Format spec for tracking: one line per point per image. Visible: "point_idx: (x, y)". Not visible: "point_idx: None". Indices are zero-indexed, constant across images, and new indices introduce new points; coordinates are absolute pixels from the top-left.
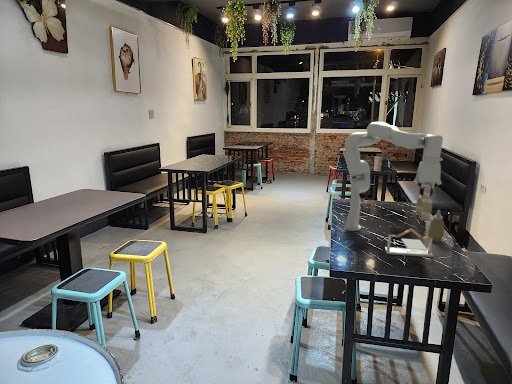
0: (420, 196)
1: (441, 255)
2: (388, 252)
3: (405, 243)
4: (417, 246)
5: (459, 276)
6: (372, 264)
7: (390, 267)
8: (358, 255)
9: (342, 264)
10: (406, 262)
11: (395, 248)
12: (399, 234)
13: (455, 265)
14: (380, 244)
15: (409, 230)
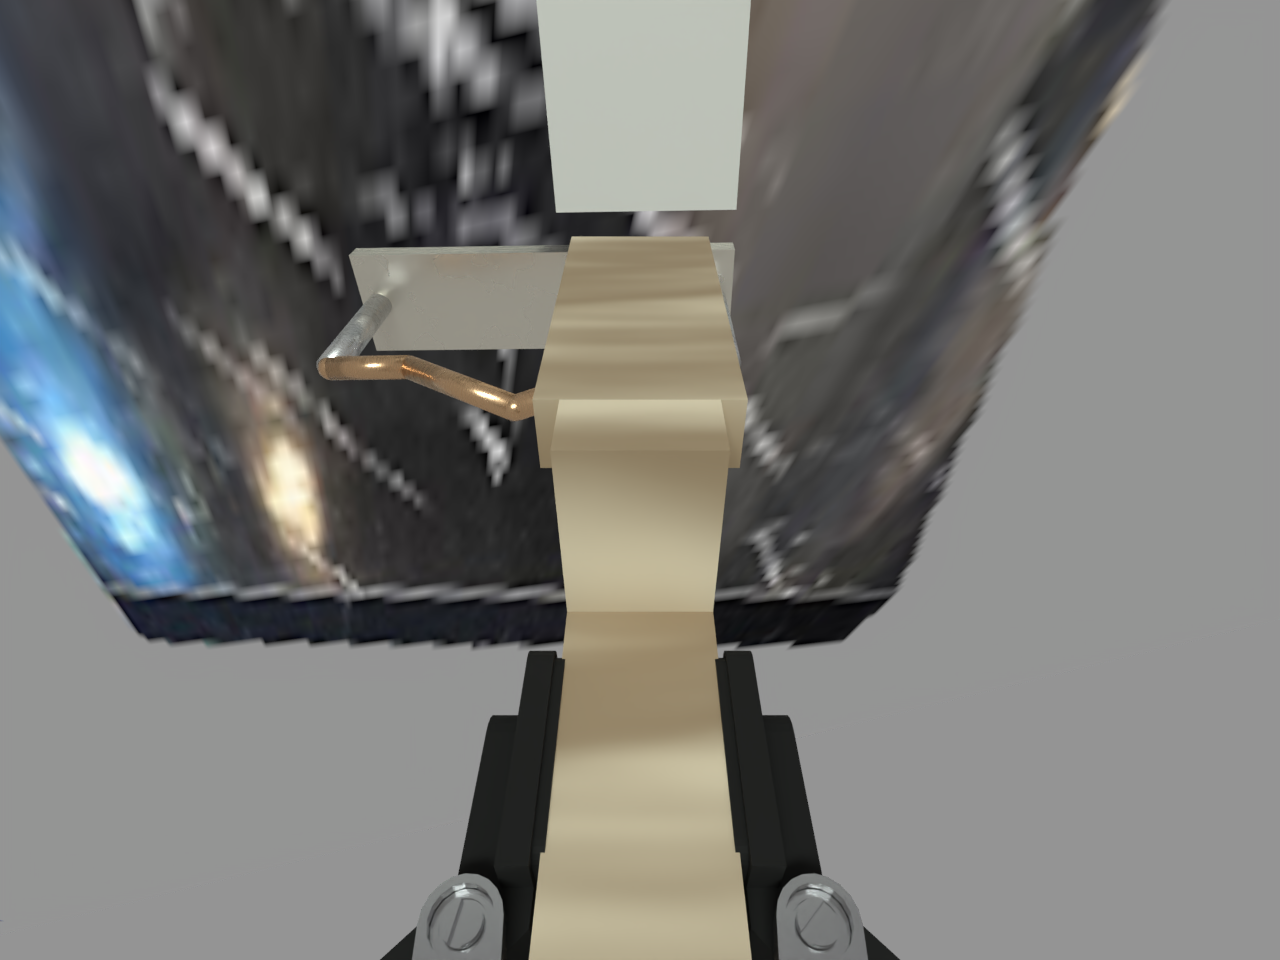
0: (563, 559)
1: (817, 286)
2: (387, 346)
3: (553, 71)
4: (663, 138)
5: (776, 551)
6: (307, 509)
7: (414, 524)
8: (185, 409)
9: (142, 536)
10: (514, 450)
11: (440, 270)
12: (416, 381)
13: (831, 435)
14: (301, 130)
15: (498, 414)
